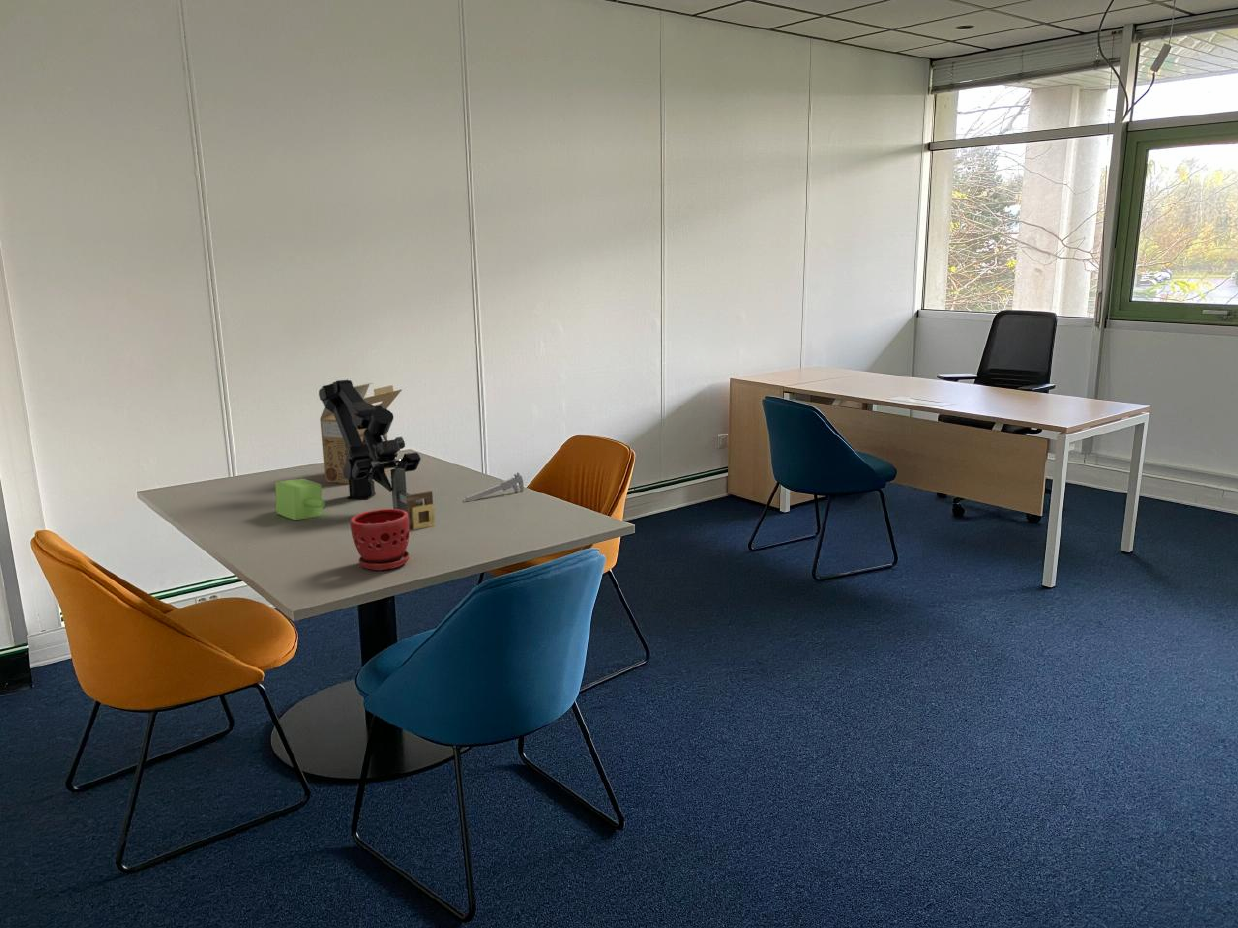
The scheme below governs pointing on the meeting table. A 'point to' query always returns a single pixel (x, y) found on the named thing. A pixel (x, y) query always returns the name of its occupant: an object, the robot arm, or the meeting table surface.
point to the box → (333, 438)
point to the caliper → (499, 488)
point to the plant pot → (381, 538)
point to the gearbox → (299, 499)
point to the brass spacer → (415, 516)
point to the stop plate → (411, 502)
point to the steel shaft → (400, 489)
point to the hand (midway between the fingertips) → (396, 490)
